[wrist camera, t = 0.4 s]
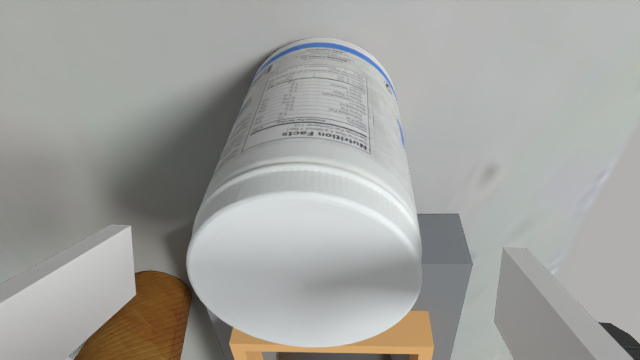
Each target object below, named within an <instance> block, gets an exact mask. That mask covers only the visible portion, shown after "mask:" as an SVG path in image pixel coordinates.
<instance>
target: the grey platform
mask: <svg viewBox="0 0 640 360" xmlns="http://www.w3.org/2000/svg"><path fill="white" fill-rule="evenodd" d="M417 218H418V224H419V230H420V238H421V243H422V259H421V263H422V286H421V290H420V293H419V295H418V298H417V300H416V302H415V304H414V305H413V307H412V308H411V310H410V311H409V312H408V313H407V314H406V315H405V316H404V317H403V318H402V319H401V320H400V321H399V322H398V323H396V324H395V325H394V326H392V327H391V328H389V329H387V330H386V331H384V332H382V333H380V334H378V335H376V336H373V337H371V338H368V339H366V340H362V341H359V342H356V343H351V344H346V345H341V346H333V347H315V348H310V347H296V346H288V345H283V344H278V343H272V342H269V341H266V340H262V339H259V338H256V337H253V336H251V335H248V334H246V333H244V332H242V331H239V330H237V329H235V328H234V327H232V326H230V325H229V324H227V323H225V322H224V321H222V320H221V319H220V318H218V317H217V316H216V315H215V314H214V313H212V312H211V311H210V310H209V309H208V308H207V307H206V309H207V311H208V314H209V317H210V319H211V322H212V325H213V327H214V330H215V332H216V335H217V338H218V340H219V343H220V346H221V348H222V351H223V354H224V356H225V359H226V360H450V357H451V353H452V349H453V345H454V340H455V336H456V332H457V328H458V324H459V319H460V315H461V311H462V307H463V303H464V299H465V294H466V290H467V286H468V282H469V278H470V273H471V269H472V265H473V263H472V260H471V256H470V253H469V249H468V246H467V242H466V238H465V235H464V231H463V228H462V224H461V221H460V217H459V214H417Z"/></svg>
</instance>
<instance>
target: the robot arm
mask: <svg viewBox="0 0 640 360" xmlns="http://www.w3.org/2000/svg"><path fill="white" fill-rule="evenodd" d="M135 295H136V287H135V274H134V260H133V247H132V234H131V225H116V224H111V225H109V226H107V227H105V228H103V229H101V230H100V231H98V232H96V233H94V234H92V235H90V236H89V237H87V238H85V239H83V240H81V241H79V242H78V243H76V244H74V245H72V246H70V247H68V248H67V249H65V250H63V251H61V252H59V253H57V254H56V255H54V256H52V257H50V258H48V259H46V260H45V261H43V262H41V263H39V264H37V265H35V266H34V267H32V268H30V269H28V270H26V271H24V272H23V273H21V274H19V275H17V276H15V277H13V278H12V279H10V280H8V281H6V282H4V283H3V284H1V285H0V360H65V359H66V358H67V357H68V356H69V355H70V354H71V353H73V352H74V351H75V350H76V349H77V348H78V347H79V346H80V345H81V344H82V343H84V342H85V341H86V340H87V339H88V338H89V337H90V336H91V335H92V334H93V333H95V332H96V331H97V330H98V329H99V328H100V327H101V326H102V325H103V324H104V323H106V322H107V321H108V320H109V319H110V318H111V317H112V316H113V315H114V314H115V313H117V312H118V311H119V310H120V309H121V308H122V307H123V306H124V305H125V304H126V303H128V302H129V301H130V300H131V299H132V298H133V297H134V296H135ZM494 323H495V325H496V326H497V328H498V330H499V332H500V334H501V336H502V338H503V340H504V341H505V343H506V345H507V347H508V349H509V351H510V353H511V355H512V356H513V358H514V360H640V344H639V343H638V342H637V341H636V340H635V339H634V338H633V337H632V336H631V335H629V334H628V333H626V332H624V331H623V330H620V329H619V328H617V327H616V326H614V325H612V324H611V323H600V322H597V321H596V320H595V319H594V318H593V317H592V316H591V315H590V314H589V313H588V312H587V311H586V309H584V307H583V306H582V305H581V304H580V303H579V302H578V301H577V300H576V299H575V298H574V297H573V296H572V295H571V294H570V293H569V292H568V291H567V290H566V289H565V288H564V287H563V286H562V285H561V284H560V283H559V282H558V280H557V279H556V278H555V277H554V276H553V275H552V274H551V273H550V272H549V271H548V270H547V269H546V268H545V267H544V266H543V265H542V264H541V263H540V262H539V261H538V260H537V259H536V258H535V257H534V256H533V255H532V254H531V253H530V251H529V250H528V249H526V248H509V247H503V250H502V259H501V267H500V275H499V283H498V292H497V300H496V308H495V317H494Z"/></svg>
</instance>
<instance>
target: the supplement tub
mask: <svg viewBox="0 0 640 360" xmlns="http://www.w3.org/2000/svg"><path fill="white" fill-rule="evenodd" d="M421 259H422V243H421V238H420V230H419V224H418V218H417V212H416V207H415V201H414V195H413V190H412V184H411V179H410V173H409V167H408V162H407V156H406V151H405V145H404V139H403V132H402V127H401V121H400V115H399V109H398V103H397V98H396V94H395V90H394V87H393V84H392V81H391V79H390V77H389V75H388V73H387V72H386V70H385V69H384V68H383V66H382V65H381V64H380V63H379V62H378V61H377V60H376V59H375V58H374V57H373V56H372V55H371V54H369V53H368V52H367V51H365V50H364V49H362V48H360V47H358V46H356V45H354V44H352V43H349V42H346V41H343V40H339V39H334V38H325V37H317V38H308V39H303V40H299V41H296V42H293V43H291V44H289V45H286V46H284V47H282V48H281V49H279V50H278V51H276V52H275V53H273V54H272V55H271V56H270V57H269V58H268V59H267V60H266V61H265V62H264V63H263V64H262V65H261V67H260V68H259V70H258V71H257V73H256V75H255V77H254V79H253V81H252V83H251V85H250V87H249V90H248V92H247V95H246V97H245V99H244V102H243V104H242V107H241V109H240V111H239V114H238V116H237V118H236V121H235V123H234V126H233V128H232V130H231V133H230V135H229V138H228V140H227V142H226V145H225V147H224V150H223V152H222V154H221V157H220V159H219V162H218V164H217V166H216V169H215V171H214V173H213V176H212V178H211V181H210V183H209V186H208V188H207V191H206V193H205V196H204V198H203V201H202V203H201V206H200V208H199V211H198V213H197V215H196V218H195V221H194V225H193V231H192V238H191V240H190V243H189V246H188V250H187V255H186V267H187V272H188V277H189V280H190V283H191V285H192V287H193V289H194V291H195V293H196V294H197V296H198V297H199V299H200V300H201V301H202V302H203V304H204V305H205V306H206V307H207V308H208V309H209V310H210V311H211V312H212V313H214V314H215V315H216V316H217V317H218V318H220V319H221V320H222V321H224V322H225V323H227V324H229V325H230V326H232V327H234V328H235V329H237V330H239V331H242V332H244V333H246V334H248V335H251V336H253V337H256V338H259V339H262V340H266V341H269V342H272V343H278V344H283V345H288V346H296V347H310V348H315V347H333V346H341V345H346V344H351V343H356V342H359V341H362V340H366V339H368V338H371V337H373V336H376V335H378V334H380V333H382V332H384V331H386V330H387V329H389V328H391V327H392V326H394V325H395V324H396V323H398V322H399V321H400V320H401V319H402V318H403V317H404V316H405V315H406V314H407V313H408V312H409V311H410V310H411V308H412V307H413V305H414V304H415V302H416V300H417V298H418V295H419V293H420V290H421V286H422V263H421Z"/></svg>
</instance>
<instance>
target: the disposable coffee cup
mask: <svg viewBox="0 0 640 360" xmlns="http://www.w3.org/2000/svg"><path fill="white" fill-rule="evenodd" d="M135 287H136V295H135V296H134V297H133V298H132V299H131V300H130V301H129V302H128V303H126V304H125V305H124V306H123V307H122V308H121V309H120V310H119V311H118V312H117V313H115V314H114V315H113V316H112V317H111V318H110V319H109V320H108V321H107V322H106V323H104V324H103V325H102V326H101V327H100V328H99V329H98V330H97V331H96V332H95V333H93V334H92V335H91V336H90V337H89V338H88V340H87V341H86V343H85V344H84V346H83V347H82V349H81V350H80V352H79V353H78V355H77V356H76V357H75V359H74V360H180V358H181V353H182V348H183V343H184V337H185V331H186V326H187V321H188V316H189V310H190V305H191V301H192V294H191V291H190V289H189V288H188V287H187V286H186V285H185V284H184V283H183V282H182V281H181V280H179V279H177V278H176V277H173V276H171V275H169V274H165V273H161V272H156V271H144V272H139V273H136V274H135Z"/></svg>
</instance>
